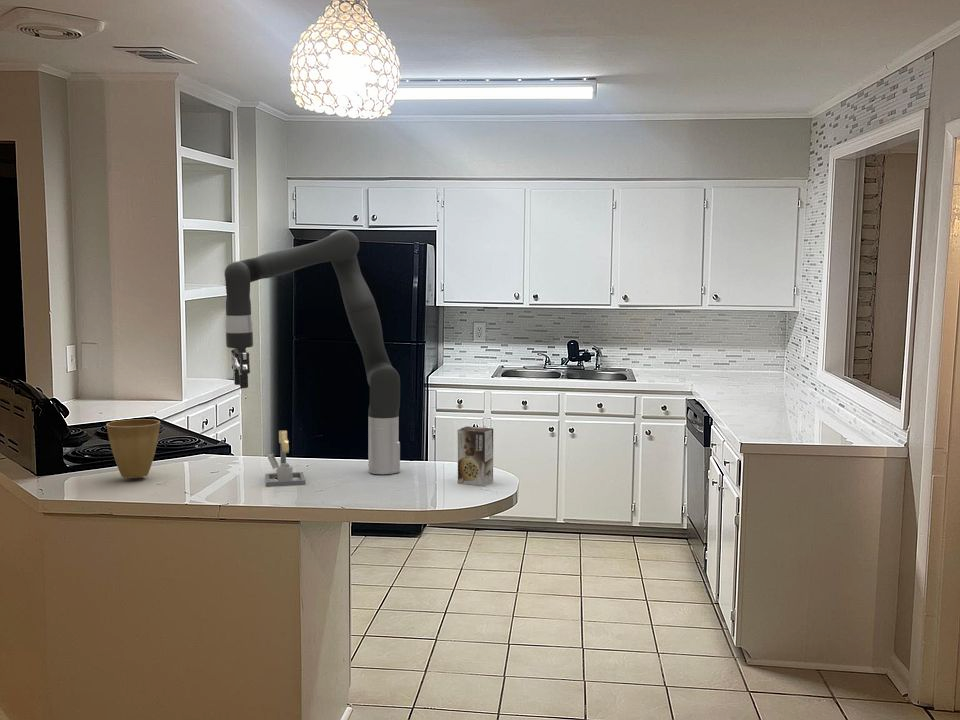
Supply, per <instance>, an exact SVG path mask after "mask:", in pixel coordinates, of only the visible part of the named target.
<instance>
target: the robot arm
mask: <svg viewBox="0 0 960 720" xmlns="http://www.w3.org/2000/svg"><path fill="white" fill-rule="evenodd" d="M359 251H360V241H359V239H358V237H357V236H356V235H355V233H353V232H352V231H349V230H346V229H339V230H336V231H334V232H332V233H331V234H329V236H326V237H324V238H322V239H319V240H317V241H314V242H313V241H312V242H310V243H307V244H303V245H299V246H298V245H297V246H293V247H287V248H283V249H280V250H275V251H271V252H267V253H263V254H261V255H258V256H256V257H251V258H247V259H243V260H238V261H232V262H230V263H229V264H228V265H227V266H226V268H225V269H224V280H225V281H224V283H225V293H226V299H225V314H226V315H225V343H226V345H225V346H226V347H227V348H228V349H231V350H230V351H231V352H230V353H231V369H232V373H233V380H234V381H233V384H234V385H235V386H239V388H240V389H248V388H249V374H250V373H251V370H250V369H251V368H250V366H251V365H250V353H249V352H248V351H247V348H253V346H254V329H253V328H254V327H253V319H252V302H251V283H253V282H256V281H259V280H263V279H265V280H266V279H270V278H275V277H278V276H282V275H285V274H289V273H291V272H295V271H298V270H301V269H303V268H308V267H311V266H315V265H317V264H323V263H328V262H330V263H331V265H332V267H333V269H334V272H335V274H336V277H337V280H338V284H339V288H340V293H341V297H342V301H343V305H344V308H345V312H346V316H347V318H348V322H349V326H350V328H351V330H352V333H353V336H354V338H355V341H356V343H357V345H358V347H359V350H360V353H361V356H362V359H363V364H364V365H363V366H364V368H365V373H366V374H365V375H366V381H367V384H368V386H369V406H368V409H367V410H368V412H367V413H368V415H367V416H368V417H367V418H368V430H367V431H368V434H367V435H368V436H367V437H368V447H367V448H368V449H367V450H368V453H367V455H368V459H367V460H368V464H367V465H368V472H369V473H370V474H374V475H391V474H392V475H393V474H396V473H397V474H398V473H400V472H401V468H400V467H401V441H399V435H400V434H399V431H400V430H399V424H400V423H399V418H400V417H399V415H400V414H399V413H400V407H401V377H400V374H399V372H398V371H397V369H396V368H394V367H393V366H392V362H391V361H390V359H389V355H388V353H387V350H386V347H385V343H384V336H383V329H382V322H381V317H380V313H379V311H378V308H377V307H378V306H377V304H376V301H375V297H374V296H373V294H372V292H371V290H370V288H369V286H368V284H367V282H366V280H365V278H364V276H363V274H362V272H361V268H360V264H359V260H358V256H357V254H358V252H359Z"/></svg>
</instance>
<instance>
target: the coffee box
mask: <svg viewBox="0 0 960 720" xmlns="http://www.w3.org/2000/svg"><path fill="white" fill-rule="evenodd" d="M493 482H494V428H492V427H491V428H490V427H481V426H479V427H478V426H464V427H461V428H459V429H457V484H461V483H462V484H464V485H472V486H481V487H486V486H489V485H490V484H492V483H493Z"/></svg>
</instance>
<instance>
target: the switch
mask: <svg viewBox="0 0 960 720" xmlns="http://www.w3.org/2000/svg"><path fill="white" fill-rule="evenodd" d="M279 444H280V465H281V464H282V463H287V453H282V444H281V443H279ZM264 478H265V479H264V480H265V486H266V487H281V486H282V487H283V486H299V485H300V486H302V485H306V478H305V475H304V472H303V471H298V472H297V471H296V472H293V478H299V479H293V480H287V481H277V480H272V481H270V480H271V479H277V469H276V471H275V473H274V472H272V473H265V474H264Z"/></svg>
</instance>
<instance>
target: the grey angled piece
mask: <svg viewBox="0 0 960 720" xmlns="http://www.w3.org/2000/svg"><path fill="white" fill-rule="evenodd" d="M266 457H267V459H268V462H269V463H270V465H271V467H272V469H273V470H274V469H276V470H277V472H276V473H277V478H276V481H287V480H294V479H293V478H294V477H293V470H294V469H293V465H292V466H291V465H290V464H289V463H288V462H286V463H282V464H281V463H280V465H279V463H278V461H277V459H276V456H275V455H274V453H271V454H268V455H267V456H266Z"/></svg>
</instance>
